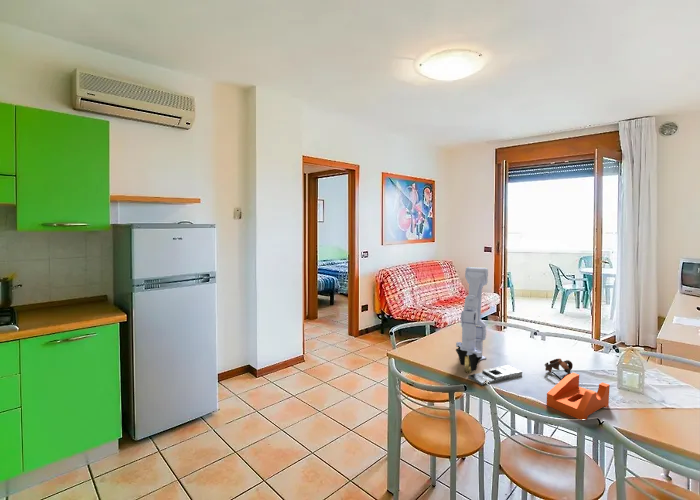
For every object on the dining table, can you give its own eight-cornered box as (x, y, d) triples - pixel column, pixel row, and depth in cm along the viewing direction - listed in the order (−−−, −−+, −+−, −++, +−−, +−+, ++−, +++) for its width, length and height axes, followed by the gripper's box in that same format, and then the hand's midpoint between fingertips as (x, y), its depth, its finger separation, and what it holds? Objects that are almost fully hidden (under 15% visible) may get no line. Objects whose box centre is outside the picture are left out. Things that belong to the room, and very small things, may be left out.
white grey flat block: (481, 385, 153) (481, 380, 153) (468, 377, 160) (468, 373, 160) (522, 376, 161) (522, 371, 161) (507, 369, 169) (507, 364, 168)
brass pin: (463, 370, 167) (463, 355, 166) (468, 369, 168) (468, 354, 168) (467, 373, 164) (467, 358, 164) (473, 372, 165) (473, 356, 165)
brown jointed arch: (564, 384, 155) (553, 364, 157) (547, 384, 163) (537, 366, 165) (583, 371, 159) (572, 353, 161) (566, 373, 167) (556, 355, 169)
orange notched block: (572, 393, 146) (573, 372, 146) (608, 406, 136) (609, 384, 135) (546, 406, 137) (547, 384, 136) (583, 422, 126) (584, 398, 125)
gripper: (450, 333, 170) (450, 362, 171) (472, 343, 157) (472, 375, 158) (463, 331, 173) (462, 360, 174) (486, 341, 159) (485, 372, 161)
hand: (468, 367), depth 166 cm, fingers open, 6 cm apart
